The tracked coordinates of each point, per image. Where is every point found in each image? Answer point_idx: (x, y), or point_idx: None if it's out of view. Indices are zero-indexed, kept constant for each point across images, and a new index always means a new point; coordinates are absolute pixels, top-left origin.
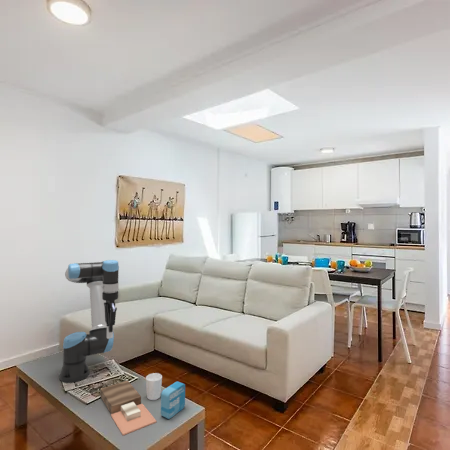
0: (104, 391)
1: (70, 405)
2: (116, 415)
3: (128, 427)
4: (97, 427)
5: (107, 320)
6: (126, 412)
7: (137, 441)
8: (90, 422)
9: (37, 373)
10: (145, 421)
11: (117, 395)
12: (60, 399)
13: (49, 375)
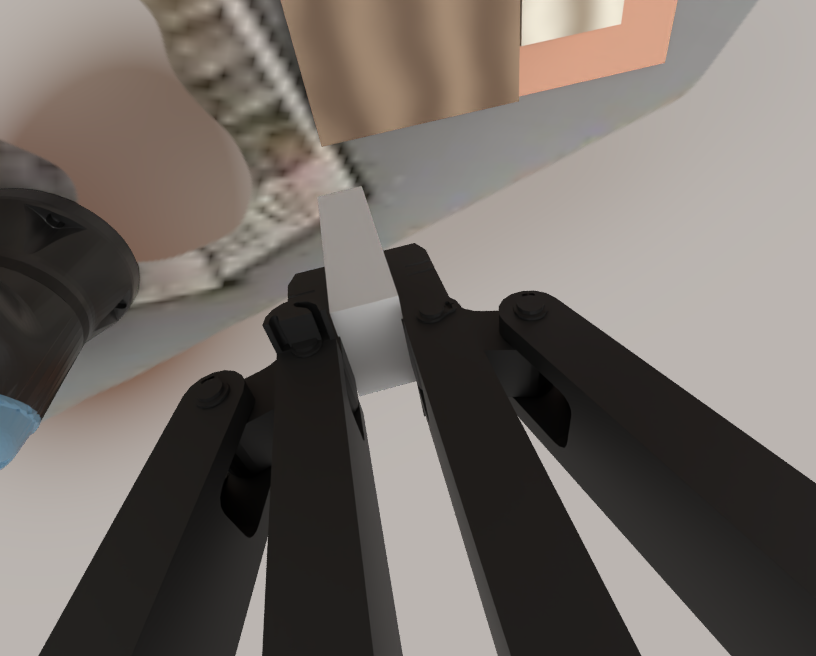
0: (361, 125)
1: None
2: (531, 71)
3: (644, 27)
4: (548, 159)
5: (370, 468)
6: (592, 24)
7: (734, 2)
8: (503, 184)
9: None
10: None
11: (435, 52)
12: None
13: None
